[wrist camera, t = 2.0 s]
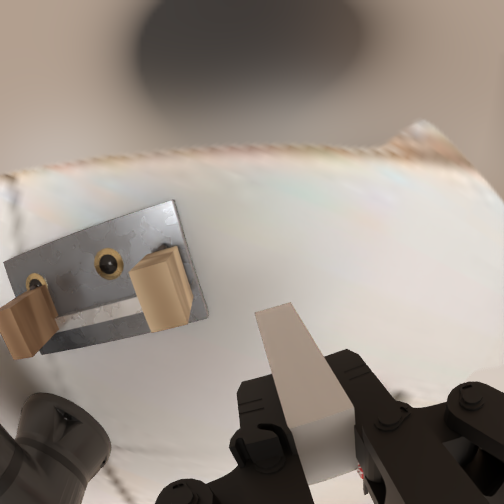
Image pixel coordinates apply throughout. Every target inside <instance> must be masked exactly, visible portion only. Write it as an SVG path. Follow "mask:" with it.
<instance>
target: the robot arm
mask: <svg viewBox="0 0 504 504" xmlns="http://www.w3.org/2000/svg"><path fill="white" fill-rule="evenodd" d="M255 316H256V319H257V323H258V326H259V330H260V333H261V337H262V340H263V344H264V347H265V351H266V354H267V358H268V361H269V365H270V368H271V371H272V374H270V375H266V376H263V377H259V378H255V379H251V380H248V381H244V382H242V383H241V385H240V387H239V389H238V391H237V401H238V410H239V419H240V429H239V430H237V431H236V432H235V434H234V435H233V437H232V438H231V440H230V445H229V449H230V451H231V452H232V454H233V456H234V458H235V460H236V462H237V464H238V466H237V467H236V468H235V469H234V470H233V471H232V472H230V473H229V474H227V475H225V476H223V477H221V478H219V479H217V480H214V481H212V482H210V483H207V484H205V483H203V482H202V481H200V480H195V479H180V480H178V481H175V482H172V483H170V484H169V485H168V486H166V487H165V488H164V489H163V490H162V491H161V493H160V494H159V496H158V498H157V500H156V502H155V504H314V502H313V498H312V495H311V492H310V489H309V485H312V484H316V483H319V482H322V481H325V480H328V479H331V478H334V477H337V476H340V475H343V474H345V473H348V472H351V471H353V470H356V469H358V462H359V464H360V466H361V468H362V470H363V490H364V495H366V494H368V492H369V494H370V496H371V498H372V500H373V502H374V504H504V393H503V392H501V391H499V390H497V389H495V388H493V387H491V386H489V385H487V384H484V383H481V382H466V383H463V384H460V385H458V386H457V387H455V388H454V389H453V390H452V391H451V392H450V394H449V395H448V399H447V402H444V403H440V404H437V405H433V406H429V407H423V408H413V407H411V406H410V405H409V404H407V403H404V402H400V401H396V400H395V399H394V398H393V397H392V396H391V395H390V393H389V392H388V391H387V389H386V388H385V387H384V386H383V384H382V383H381V382H380V381H379V379H378V378H377V377H376V376H375V374H374V373H373V372H372V371H371V369H370V368H369V367H368V366H367V365H366V363H365V362H364V361H363V359H362V358H361V357H360V356H359V354H357V353H354V352H352V351H350V350H348V349H345V350H342V351H339V352H336V353H334V354H331V355H328V356H325V357H324V356H323V355H322V353H321V351H320V350H319V348H318V346H317V345H316V343H315V341H314V340H313V338H312V336H311V335H310V333H309V332H308V330H307V328H306V327H305V325H304V323H303V322H302V320H301V318H300V317H299V315H298V313H297V312H296V310H295V309H294V307H293V305H292V304H291V302H290V303H286V304H283V305H280V306H276V307H273V308H269V309H266V310H262V311H259V312H255ZM110 453H111V442H110V439H109V437H108V435H107V433H106V432H105V430H104V429H103V427H102V426H101V425H100V424H99V423H98V422H97V421H96V420H95V419H94V418H93V417H92V416H91V415H90V414H89V413H87V412H86V411H85V410H83V409H82V408H81V407H79V406H78V405H76V404H74V403H73V402H71V401H69V400H67V399H65V398H62V397H60V396H57V395H53V394H49V393H36V394H33V395H31V396H30V397H29V398H28V399H27V401H26V402H25V403H24V405H23V407H22V409H21V416H20V420H19V424H18V430H17V435H16V438H15V440H14V439H13V438H12V437H11V436H10V435H9V433H8V432H7V431H6V430H5V429H4V428H3V427H2V425H1V424H0V504H81V503H82V500H83V496H84V493H85V490H86V487H87V484H88V482H89V481H90V480H91V479H92V478H93V477H94V476H95V475H96V474H97V473H98V471H99V470H100V468H102V467H103V466H104V465H105V464H106V463H107V461H108V459H109V456H110Z"/></svg>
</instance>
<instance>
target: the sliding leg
mask: <svg viewBox="0 0 504 504" xmlns="http://www.w3.org/2000/svg"><path fill="white" fill-rule="evenodd" d="M129 275H130V278H131V281H132V284H133V286H134V289H135V292H136V295H137V297H138V300H139V303H140V305H141V308H142V310H143V313H144V315H145V318H146V320H147V323H148V325H149V328H150V330H151V333H153V332H158V331H162V330H166V329H170V328H174V327H178V326H182V325H186V324H188V321H189V316H190V311H191V306H192V301H193V294H192V291H191V288H190V285H189V282H188V279H187V276H186V273H185V270H184V266H183V263H182V260H181V257H180V254H179V251H178V247H177V246H174V247H171V248H167V246H166V245H164V244H161V245H160V246H159V247H158V248H157V252H154V253H150V254H147V255H145V256H144V257H143V258H142V259H141V260H140V261H139V262H138V263H137V264H136V265H135V266H134V267H133V268H132V269H131V270H130V271H129Z"/></svg>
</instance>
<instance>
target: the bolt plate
mask: <svg viewBox="0 0 504 504" xmlns="http://www.w3.org/2000/svg"><path fill="white" fill-rule="evenodd" d="M161 244H164V245H166V246H167V248H171V247H174V246H177V247H178V251H179V254H180V257H181V260H182V263H183V266H184V270H185V273H186V276H187V279H188V282H189V285H190V288H191V291H192V294H193V301H192V306H191V311H190V316H189V321H188V323H191V322H195V321H199V320H203V319H207V318H208V317H209V311H208V308H207V306H206V303H205V299H204V296H203V293H202V290H201V287H200V284H199V281H198V278H197V275H196V272H195V268H194V265H193V262H192V259H191V256H190V252H189V249H188V246H187V242H186V239H185V236H184V232H183V229H182V226H181V222H180V219H179V215H178V212H177V208H176V204H175V201H174V200H171V201H168V202H165V203H162V204H158V205H155V206H152V207H149V208H146V209H143V210H140V211H137V212H134V213H130V214H127V215H125V216H122V217H119V218H116V219H113V220H110V221H107V222H104V223H101V224H98V225H96V226H93V227H90V228H87V229H85V230H82V231H79V232H77V233H74V234H71V235H69V236H66V237H63V238H61V239H58V240H56V241H53V242H50V243H48V244H45V245H43V246H40V247H38V248H36V249H33V250H31V251H28V252H26V253H23V254H21V255H19V256H16V257H14V258H12V259H9V260H7V261H5V262H3V263H4V266H5V269H6V272H7V275H8V278H9V281H10V283H11V286H12V289H13V291H14V294H15V297H18V296H19V295H21V294H23V293H24V292H26V291H27V290H30V287H31V286H33V285H34V284H36V285H38V287H39V286H42V285H45V284H46V287H47V289H48V291H49V293H50V296H51V298H52V301H53V303H54V306H55V308H56V311H57V313H58V316H57V317H56V318H55V321H56V323H57V325H58V328H59V330H58V331H57V332H56V333H55V334H54V335H53V336H52V337H51V338H50V339H49V340H48V341H47V342H46V344H45V345H44V346H43V347H42V348H41V349H40V350H39V351H40V353H41V355H43V354H49V353H55V352H60V351H65V350H71V349H76V348H81V347H86V346H91V345H96V344H100V343H105V342H110V341H115V340H119V339H124V338H128V337H133V336H137V335H141V334H146V333H150V332H151V330H150V328H149V325H148V323H147V320H146V318H145V315H144V313H143V310H142V308H141V305H140V303H139V300H138V297H137V295H136V292H135V289H134V286H133V284H132V281H131V278H130V275H129V271H130V270H131V269H132V268H133V267H134V266H135V265H136V264H137V263H138V262H139V261H140V260H141V259H142V258H143V257H144V256H145V255H147V254H150V253H154V252H157V248H158V247H159V246H160V245H161Z"/></svg>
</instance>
